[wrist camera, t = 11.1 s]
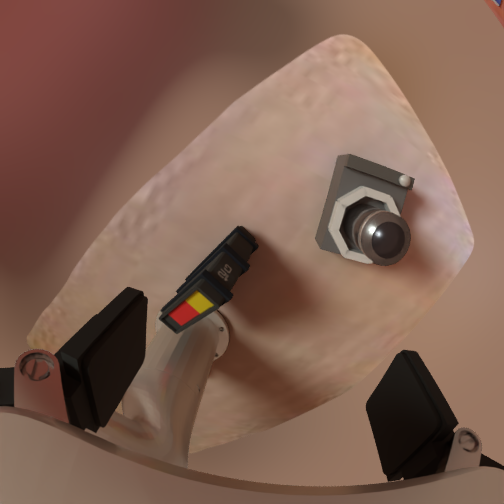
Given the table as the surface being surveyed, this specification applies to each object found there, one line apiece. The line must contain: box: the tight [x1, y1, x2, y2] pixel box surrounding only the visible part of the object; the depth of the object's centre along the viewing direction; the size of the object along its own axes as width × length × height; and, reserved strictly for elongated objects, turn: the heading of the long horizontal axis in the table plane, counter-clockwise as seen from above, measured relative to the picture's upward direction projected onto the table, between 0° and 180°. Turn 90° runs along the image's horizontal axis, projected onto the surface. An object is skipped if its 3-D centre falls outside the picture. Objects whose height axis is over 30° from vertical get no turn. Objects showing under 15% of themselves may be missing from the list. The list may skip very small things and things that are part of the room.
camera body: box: [315, 154, 415, 264], centre depth 33 cm, size 12×9×7 cm
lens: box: [343, 204, 411, 266], centre depth 28 cm, size 5×5×8 cm
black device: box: [159, 226, 258, 334], centre depth 35 cm, size 4×13×15 cm, turn 135°
